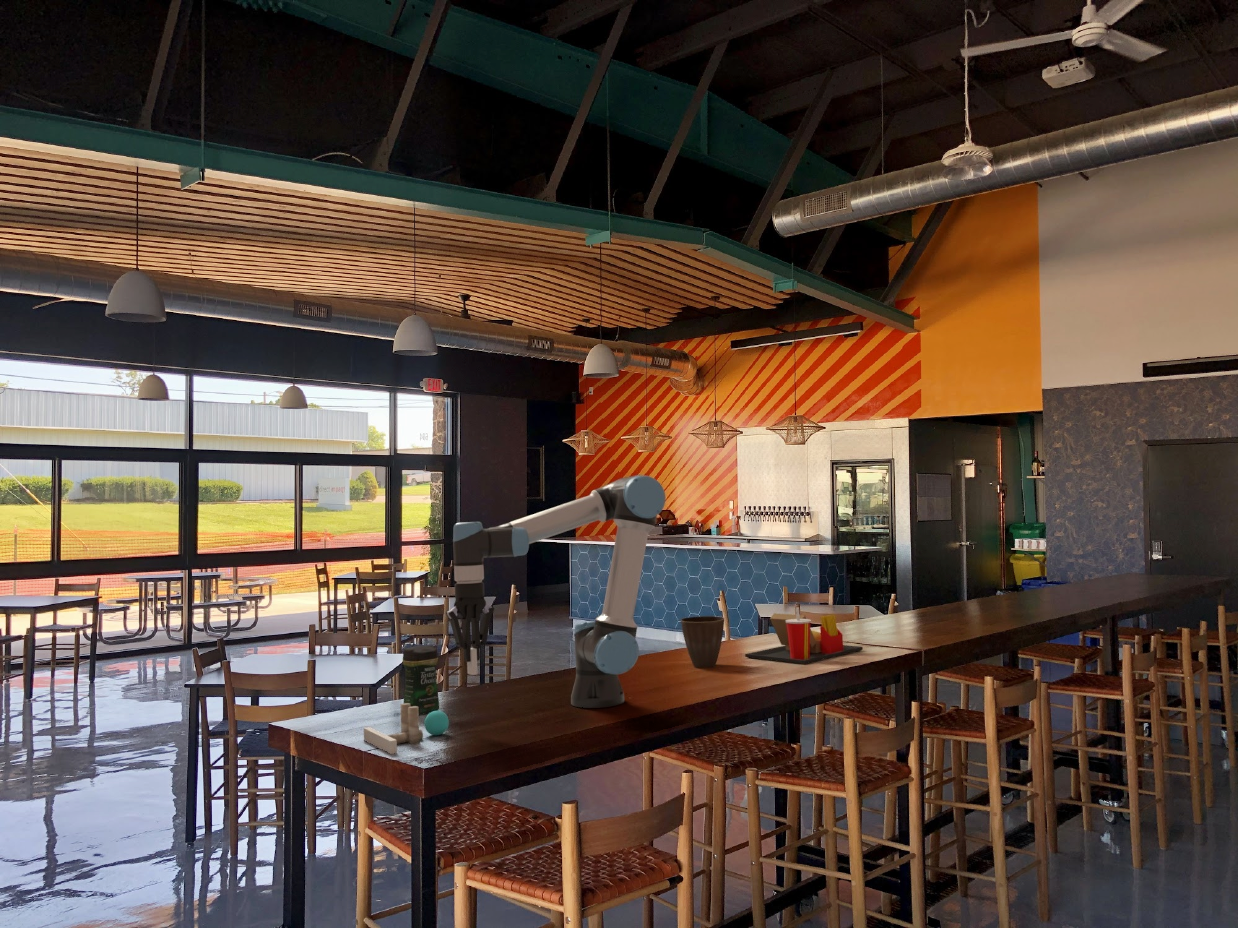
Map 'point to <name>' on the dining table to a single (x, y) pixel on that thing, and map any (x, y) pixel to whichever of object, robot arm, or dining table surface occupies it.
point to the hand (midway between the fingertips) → (472, 673)
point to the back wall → (380, 740)
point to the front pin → (404, 736)
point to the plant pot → (703, 639)
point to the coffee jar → (421, 678)
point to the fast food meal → (804, 640)
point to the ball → (436, 723)
